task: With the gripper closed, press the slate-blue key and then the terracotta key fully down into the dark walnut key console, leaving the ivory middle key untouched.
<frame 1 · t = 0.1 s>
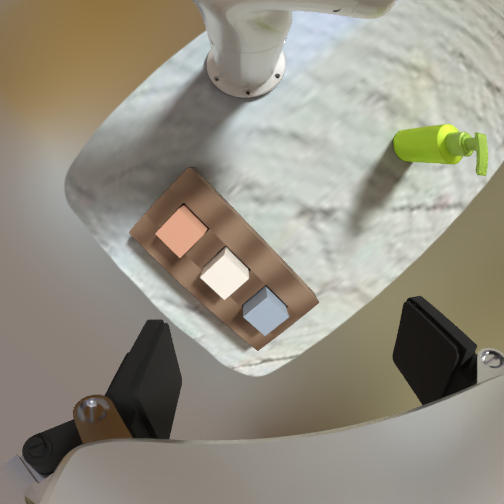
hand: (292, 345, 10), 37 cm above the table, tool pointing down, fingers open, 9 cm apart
soap dispenser: (405, 148, 43), on the table
slate key: (265, 310, 45), point 5 cm above the table, slide at 0.0 cm
ivory key: (225, 273, 43), point 5 cm above the table, slide at 0.0 cm
terracotta key: (181, 230, 40), point 6 cm above the table, slide at 0.0 cm
key console: (226, 261, 48), on the table
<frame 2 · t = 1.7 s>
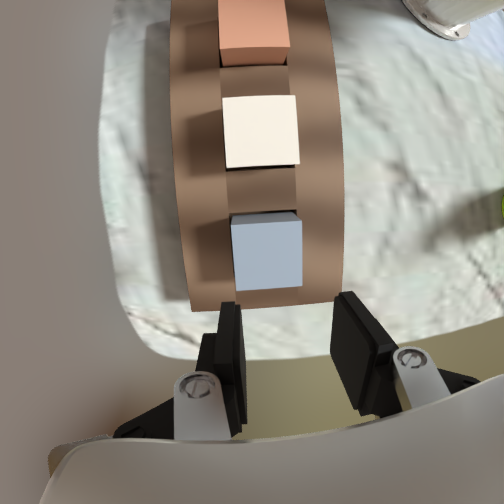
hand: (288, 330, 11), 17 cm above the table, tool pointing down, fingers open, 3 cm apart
slate key: (266, 249, 22), point 5 cm above the table, slide at 0.0 cm
ivory key: (259, 133, 20), point 5 cm above the table, slide at 0.0 cm
terracotta key: (252, 31, 17), point 5 cm above the table, slide at 0.0 cm
key console: (256, 140, 25), on the table
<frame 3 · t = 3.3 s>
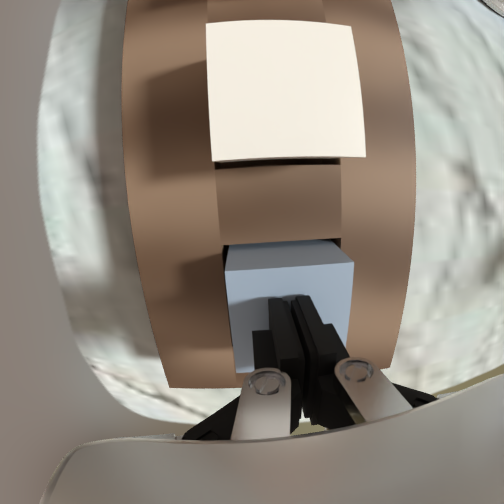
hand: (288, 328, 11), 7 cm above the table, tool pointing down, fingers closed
slate key: (285, 301, 13), point 5 cm above the table, slide at 1.0 cm, touching gripper
ivory key: (279, 96, 10), point 5 cm above the table, slide at 0.0 cm
key console: (268, 118, 15), on the table
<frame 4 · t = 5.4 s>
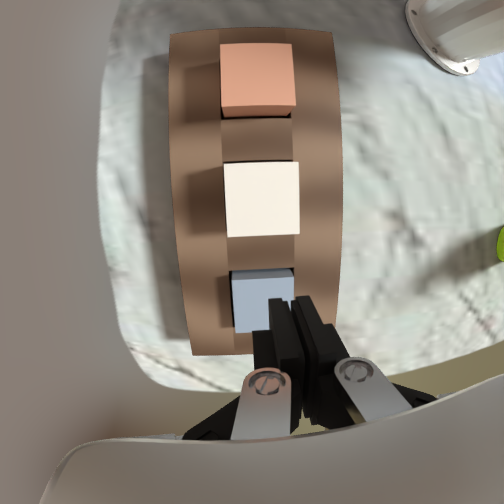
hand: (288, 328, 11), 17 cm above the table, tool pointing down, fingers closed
slate key: (262, 296, 25), point 3 cm above the table, slide at 2.0 cm
ivory key: (260, 196, 21), point 5 cm above the table, slide at 0.0 cm
terracotta key: (255, 81, 18), point 5 cm above the table, slide at 0.0 cm
key console: (256, 191, 26), on the table
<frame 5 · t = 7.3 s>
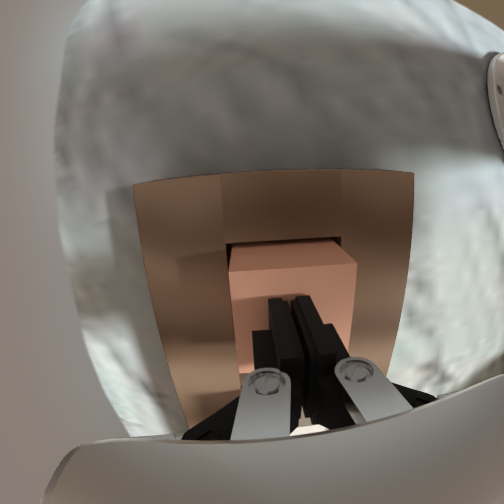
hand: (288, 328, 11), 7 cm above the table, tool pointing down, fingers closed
ivory key: (287, 426, 15), point 5 cm above the table, slide at 0.0 cm
terracotta key: (288, 302, 13), point 5 cm above the table, slide at 0.5 cm, touching gripper
key console: (279, 373, 21), on the table
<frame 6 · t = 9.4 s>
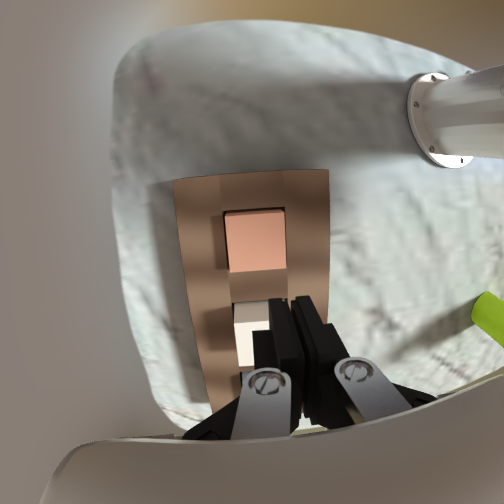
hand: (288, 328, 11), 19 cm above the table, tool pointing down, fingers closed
soap dispenser: (479, 309, 35), on the table
slate key: (264, 383, 31), point 3 cm above the table, slide at 2.0 cm
ivory key: (262, 332, 27), point 5 cm above the table, slide at 0.0 cm
terracotta key: (255, 237, 26), point 3 cm above the table, slide at 2.1 cm
key console: (258, 306, 32), on the table
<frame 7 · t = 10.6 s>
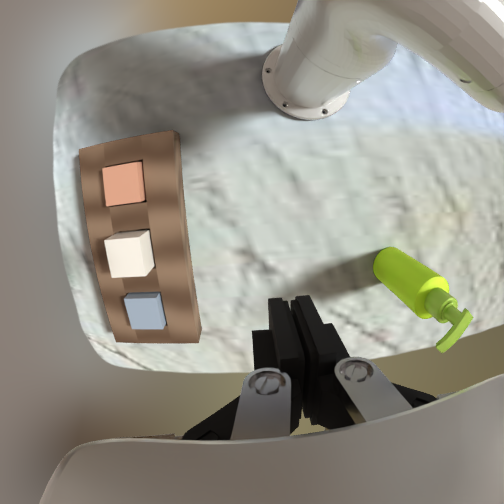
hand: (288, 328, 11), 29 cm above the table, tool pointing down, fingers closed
soap dispenser: (386, 266, 42), on the table
slate key: (147, 307, 39), point 3 cm above the table, slide at 2.0 cm
ivory key: (130, 253, 34), point 5 cm above the table, slide at 0.0 cm
terracotta key: (126, 183, 34), point 3 cm above the table, slide at 2.1 cm
key console: (143, 242, 40), on the table
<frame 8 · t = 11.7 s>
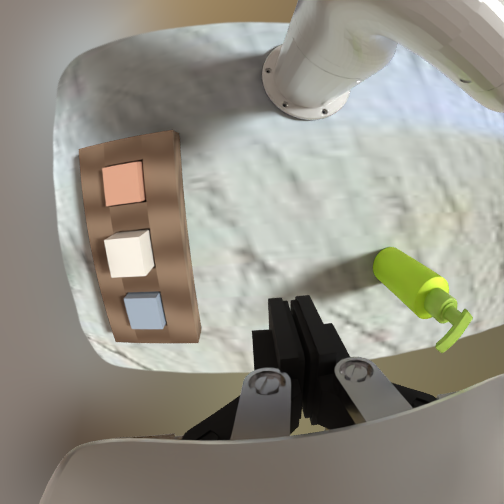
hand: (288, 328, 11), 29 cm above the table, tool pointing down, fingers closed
soap dispenser: (385, 266, 42), on the table
slate key: (147, 307, 39), point 3 cm above the table, slide at 2.0 cm
ivory key: (130, 253, 34), point 5 cm above the table, slide at 0.0 cm
terracotta key: (126, 183, 34), point 3 cm above the table, slide at 2.1 cm
key console: (143, 242, 40), on the table
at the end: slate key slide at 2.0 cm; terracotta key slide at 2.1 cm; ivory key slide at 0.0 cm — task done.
